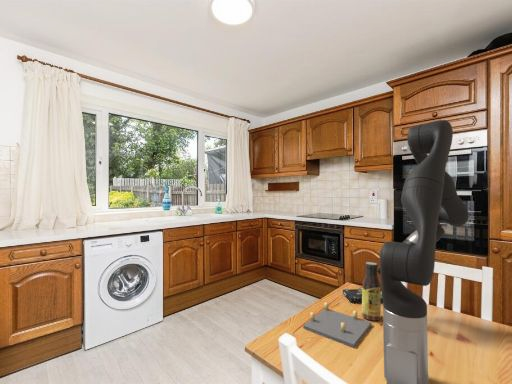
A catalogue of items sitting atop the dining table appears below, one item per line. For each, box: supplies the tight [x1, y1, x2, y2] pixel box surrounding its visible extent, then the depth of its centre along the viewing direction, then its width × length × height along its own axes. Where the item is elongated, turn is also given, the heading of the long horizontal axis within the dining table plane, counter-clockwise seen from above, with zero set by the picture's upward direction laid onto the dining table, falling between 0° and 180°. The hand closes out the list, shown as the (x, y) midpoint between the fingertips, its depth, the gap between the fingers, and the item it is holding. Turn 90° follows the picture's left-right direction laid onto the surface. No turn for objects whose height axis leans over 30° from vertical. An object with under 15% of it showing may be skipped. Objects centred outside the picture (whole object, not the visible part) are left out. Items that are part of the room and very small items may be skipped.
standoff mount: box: [302, 301, 373, 349], centre depth 86 cm, size 17×17×4 cm
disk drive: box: [342, 288, 383, 304], centre depth 110 cm, size 10×3×15 cm
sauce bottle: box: [361, 261, 382, 322], centre depth 93 cm, size 6×6×20 cm
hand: (383, 276), depth 92 cm, fingers open, 8 cm apart
